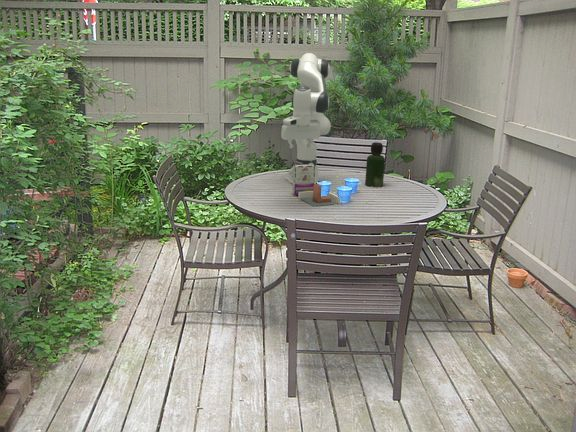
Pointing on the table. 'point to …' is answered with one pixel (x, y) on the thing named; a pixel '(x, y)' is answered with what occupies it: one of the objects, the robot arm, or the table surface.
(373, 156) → the dark green bottle
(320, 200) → the angle bracket
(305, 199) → the slate mat
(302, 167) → the candy bar box
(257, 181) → the table surface
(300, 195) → the grey tray
